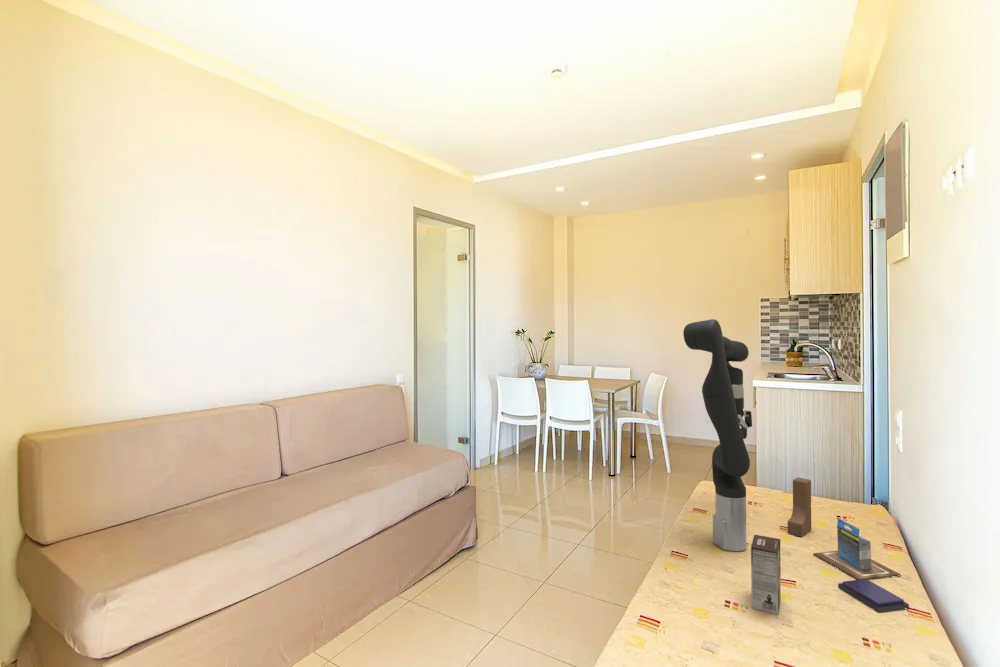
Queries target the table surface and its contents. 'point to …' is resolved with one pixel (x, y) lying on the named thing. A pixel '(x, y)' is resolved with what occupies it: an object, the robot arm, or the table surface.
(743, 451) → the robot arm
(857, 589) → the ink pad
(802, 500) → the wooden block
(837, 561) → the walnut board
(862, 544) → the label tape box
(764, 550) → the coffee box
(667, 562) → the table surface
